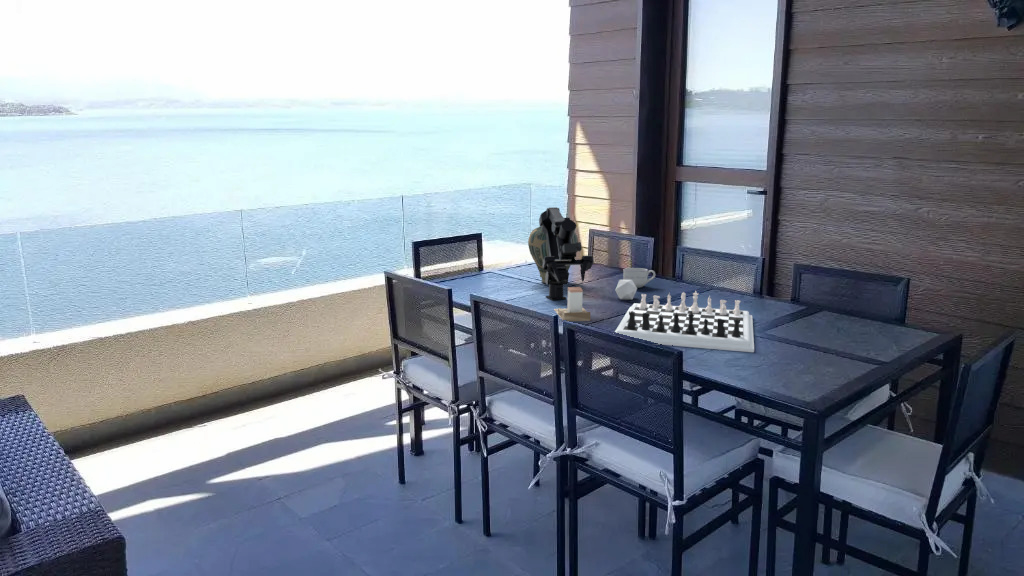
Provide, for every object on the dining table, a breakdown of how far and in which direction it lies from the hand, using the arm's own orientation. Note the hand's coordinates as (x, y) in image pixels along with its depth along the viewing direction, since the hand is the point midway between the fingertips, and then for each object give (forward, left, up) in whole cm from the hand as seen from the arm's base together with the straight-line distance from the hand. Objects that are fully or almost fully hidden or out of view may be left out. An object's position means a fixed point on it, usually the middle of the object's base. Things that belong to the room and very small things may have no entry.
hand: (571, 281), depth 280 cm
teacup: (-31, +52, -13) cm, 62 cm away
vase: (-55, +22, -13) cm, 60 cm away
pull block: (+7, -2, -12) cm, 14 cm away
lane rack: (+2, -1, -13) cm, 13 cm away
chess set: (+34, +27, -14) cm, 46 cm away
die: (-14, +34, -13) cm, 39 cm away
